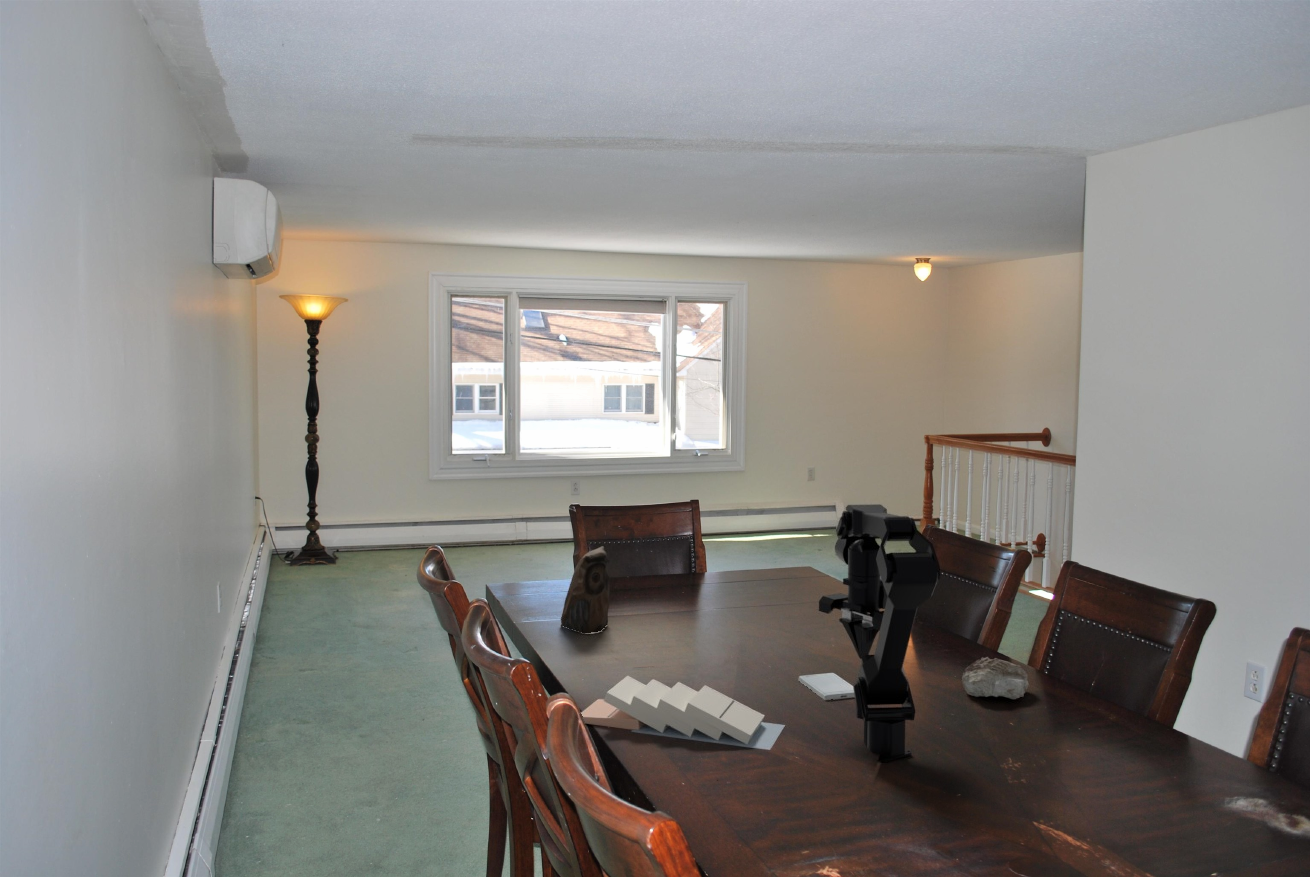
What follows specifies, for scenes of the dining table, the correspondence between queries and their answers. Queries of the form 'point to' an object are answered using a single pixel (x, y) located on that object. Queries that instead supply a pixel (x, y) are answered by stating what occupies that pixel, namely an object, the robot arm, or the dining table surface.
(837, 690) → the hard drive
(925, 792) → the dining table surface
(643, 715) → the domino
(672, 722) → the domino
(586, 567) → the owl
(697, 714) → the domino
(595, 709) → the domino
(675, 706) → the domino
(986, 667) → the rock
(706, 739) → the board
